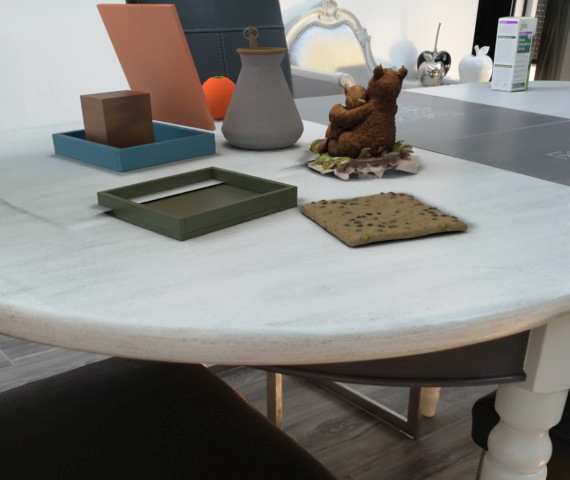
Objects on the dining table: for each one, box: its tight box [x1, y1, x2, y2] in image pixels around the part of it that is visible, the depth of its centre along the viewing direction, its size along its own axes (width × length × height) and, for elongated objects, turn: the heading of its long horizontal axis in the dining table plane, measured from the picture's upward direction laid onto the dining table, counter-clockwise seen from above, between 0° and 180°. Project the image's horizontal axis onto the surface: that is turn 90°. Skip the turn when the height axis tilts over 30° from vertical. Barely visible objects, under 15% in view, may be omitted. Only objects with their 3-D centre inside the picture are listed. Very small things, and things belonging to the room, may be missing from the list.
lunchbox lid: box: [95, 3, 217, 132], centre depth 86 cm, size 15×16×1 cm
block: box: [79, 89, 155, 149], centre depth 84 cm, size 7×5×8 cm
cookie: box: [299, 191, 468, 247], centre depth 63 cm, size 12×12×1 cm
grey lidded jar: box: [220, 25, 305, 151], centre depth 94 cm, size 21×12×15 cm, turn 7°
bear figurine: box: [305, 63, 420, 181], centre depth 81 cm, size 14×15×12 cm
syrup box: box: [490, 16, 538, 93], centre depth 144 cm, size 6×6×14 cm
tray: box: [96, 165, 299, 242], centre depth 67 cm, size 15×13×2 cm
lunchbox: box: [51, 121, 217, 173], centre depth 87 cm, size 15×16×3 cm
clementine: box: [201, 74, 236, 120], centre depth 114 cm, size 8×7×7 cm
